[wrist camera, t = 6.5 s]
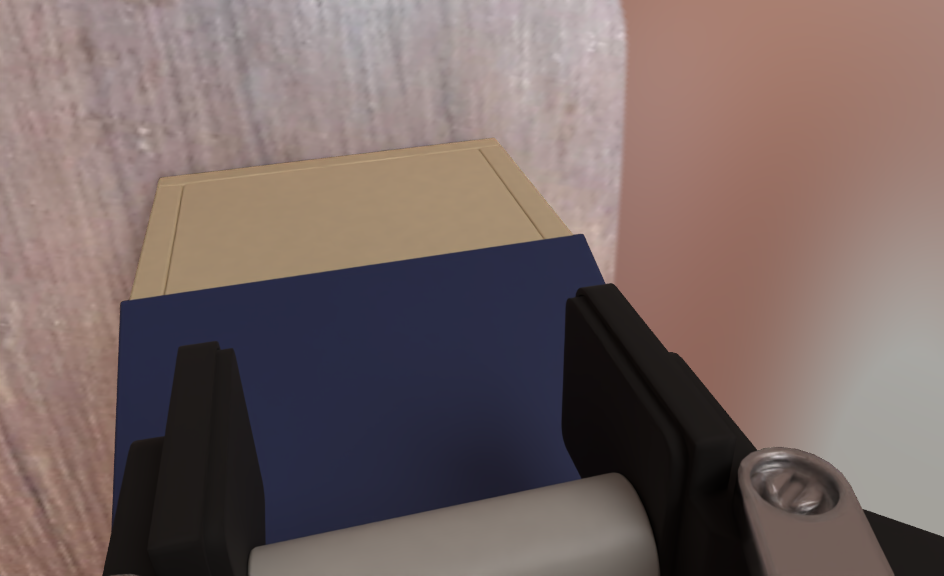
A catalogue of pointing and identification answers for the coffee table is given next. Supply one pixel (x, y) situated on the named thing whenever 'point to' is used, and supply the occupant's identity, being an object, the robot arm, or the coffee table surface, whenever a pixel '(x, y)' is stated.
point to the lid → (402, 415)
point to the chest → (336, 215)
